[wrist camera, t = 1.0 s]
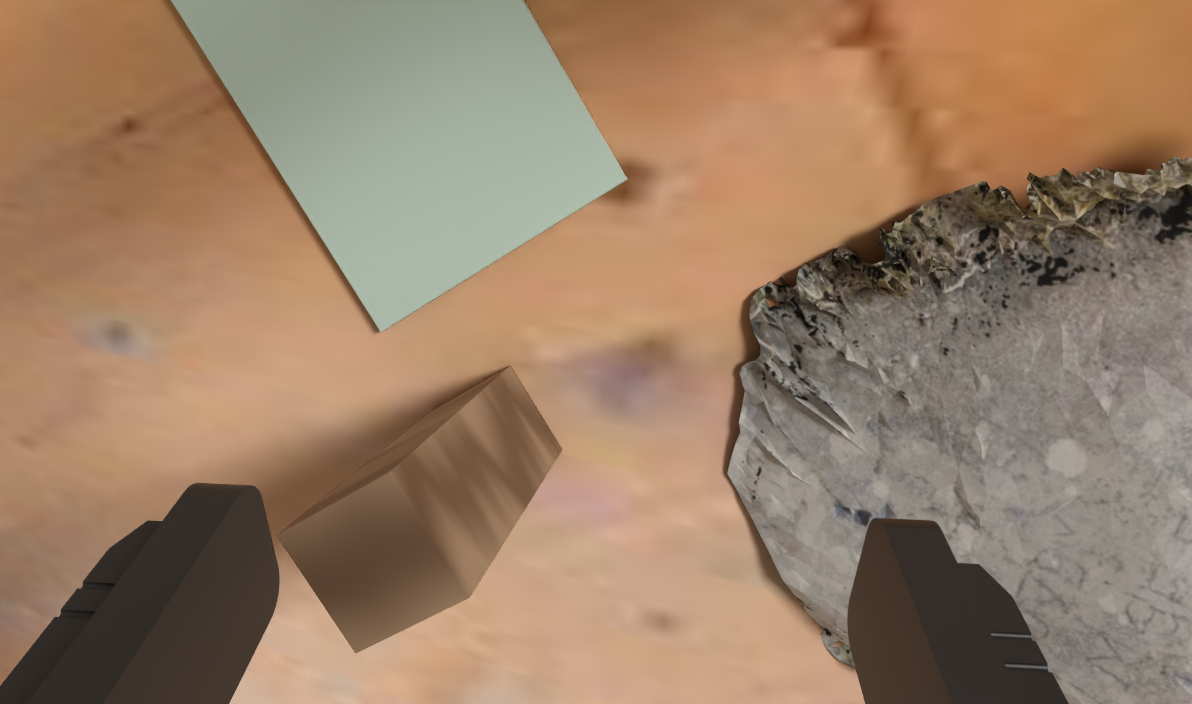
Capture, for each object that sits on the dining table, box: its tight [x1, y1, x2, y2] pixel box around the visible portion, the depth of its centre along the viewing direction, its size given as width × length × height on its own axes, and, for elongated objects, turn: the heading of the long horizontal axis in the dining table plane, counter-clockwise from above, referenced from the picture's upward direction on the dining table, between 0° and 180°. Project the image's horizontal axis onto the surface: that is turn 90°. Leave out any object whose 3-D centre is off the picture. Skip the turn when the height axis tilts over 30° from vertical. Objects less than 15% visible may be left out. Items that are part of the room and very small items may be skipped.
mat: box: [171, 0, 628, 332], centre depth 34 cm, size 20×13×1 cm, turn 31°
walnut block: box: [276, 366, 562, 653], centre depth 31 cm, size 4×4×13 cm
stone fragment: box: [727, 157, 1192, 704], centre depth 31 cm, size 25×29×6 cm
